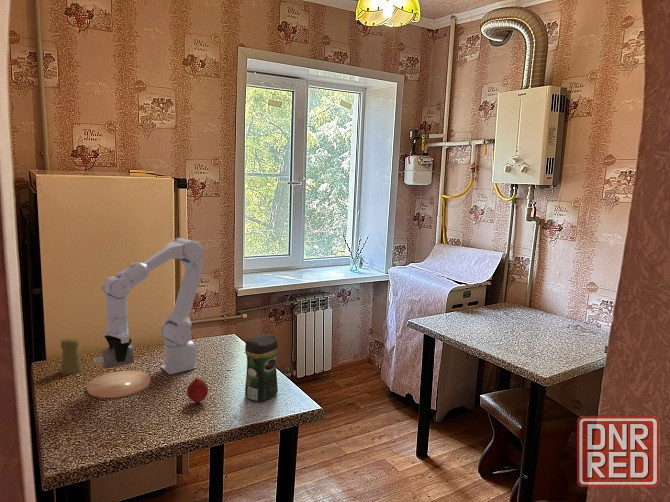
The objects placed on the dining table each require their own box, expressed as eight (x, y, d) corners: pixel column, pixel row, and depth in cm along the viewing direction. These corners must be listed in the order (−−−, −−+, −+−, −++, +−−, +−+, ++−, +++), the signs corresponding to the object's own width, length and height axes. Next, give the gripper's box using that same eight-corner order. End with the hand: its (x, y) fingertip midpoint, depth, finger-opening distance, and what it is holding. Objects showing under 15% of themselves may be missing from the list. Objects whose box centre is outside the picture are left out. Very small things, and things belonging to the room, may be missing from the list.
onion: (212, 400, 140) (211, 374, 139) (200, 409, 135) (200, 382, 134) (195, 396, 142) (194, 371, 141) (183, 405, 137) (182, 378, 136)
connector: (131, 358, 151) (131, 343, 151) (135, 362, 148) (135, 346, 148) (92, 366, 144) (92, 350, 143) (96, 370, 141) (95, 354, 140)
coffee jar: (263, 386, 151) (264, 329, 148) (281, 394, 146) (282, 335, 143) (239, 397, 143) (240, 337, 140) (258, 405, 138) (259, 344, 135)
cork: (72, 375, 154) (70, 342, 152) (56, 373, 155) (54, 340, 153) (85, 368, 159) (84, 336, 158) (70, 366, 161) (68, 334, 159)
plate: (139, 368, 161) (138, 366, 161) (159, 387, 147) (159, 384, 147) (79, 382, 149) (79, 379, 149) (96, 404, 136) (96, 401, 135)
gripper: (96, 312, 148) (97, 354, 150) (110, 324, 137) (112, 369, 139) (120, 309, 152) (121, 350, 154) (135, 320, 141) (137, 364, 143)
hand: (118, 359), depth 147 cm, fingers closed on connector, 4 cm apart
